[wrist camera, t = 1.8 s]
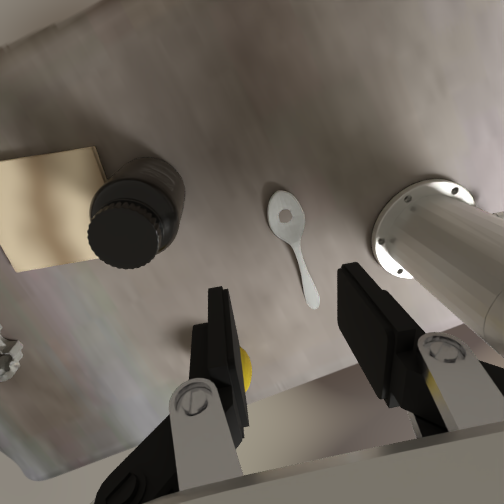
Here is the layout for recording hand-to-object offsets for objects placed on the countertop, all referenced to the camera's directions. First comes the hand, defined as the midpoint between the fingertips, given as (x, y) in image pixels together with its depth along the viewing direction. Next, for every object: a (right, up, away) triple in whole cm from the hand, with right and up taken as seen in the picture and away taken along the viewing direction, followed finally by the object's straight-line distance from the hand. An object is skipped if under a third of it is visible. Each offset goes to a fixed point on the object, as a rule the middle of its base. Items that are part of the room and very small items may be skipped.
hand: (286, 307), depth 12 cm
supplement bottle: (-12, +9, +19) cm, 24 cm away
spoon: (+5, +1, +26) cm, 27 cm away
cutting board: (-21, +6, +19) cm, 29 cm away
